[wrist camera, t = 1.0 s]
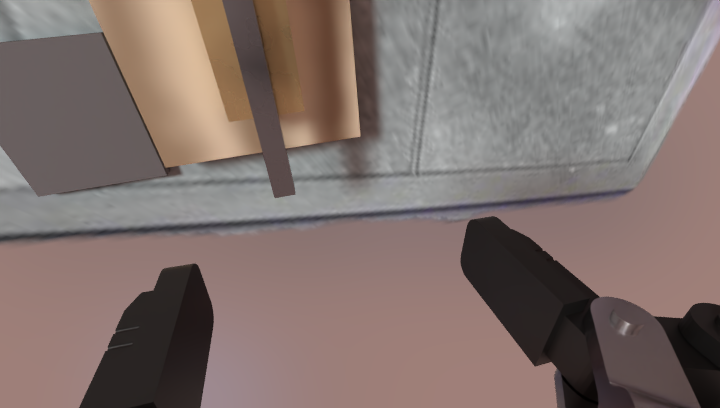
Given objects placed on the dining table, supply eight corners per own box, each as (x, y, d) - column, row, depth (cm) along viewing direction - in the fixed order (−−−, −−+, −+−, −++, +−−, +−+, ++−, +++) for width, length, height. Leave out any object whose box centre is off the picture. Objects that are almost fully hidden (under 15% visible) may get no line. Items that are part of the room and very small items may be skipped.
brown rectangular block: (278, -30, 21) (279, -36, 17) (300, 96, 25) (304, 111, 22) (197, -23, 20) (182, -29, 16) (234, 105, 24) (228, 122, 21)
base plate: (332, -105, 21) (339, -119, 19) (353, 125, 30) (360, 136, 28) (69, -93, 19) (39, -107, 17) (175, 153, 28) (165, 167, 25)
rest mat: (107, 31, 23) (100, 32, 22) (170, 170, 29) (166, 175, 28) (-58, 48, 21) (-71, 49, 20) (45, 190, 27) (38, 196, 26)
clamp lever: (189, -114, 18) (158, -158, 13) (245, -117, 18) (235, -159, 13) (265, 170, 27) (263, 205, 22) (300, 164, 28) (306, 197, 23)
